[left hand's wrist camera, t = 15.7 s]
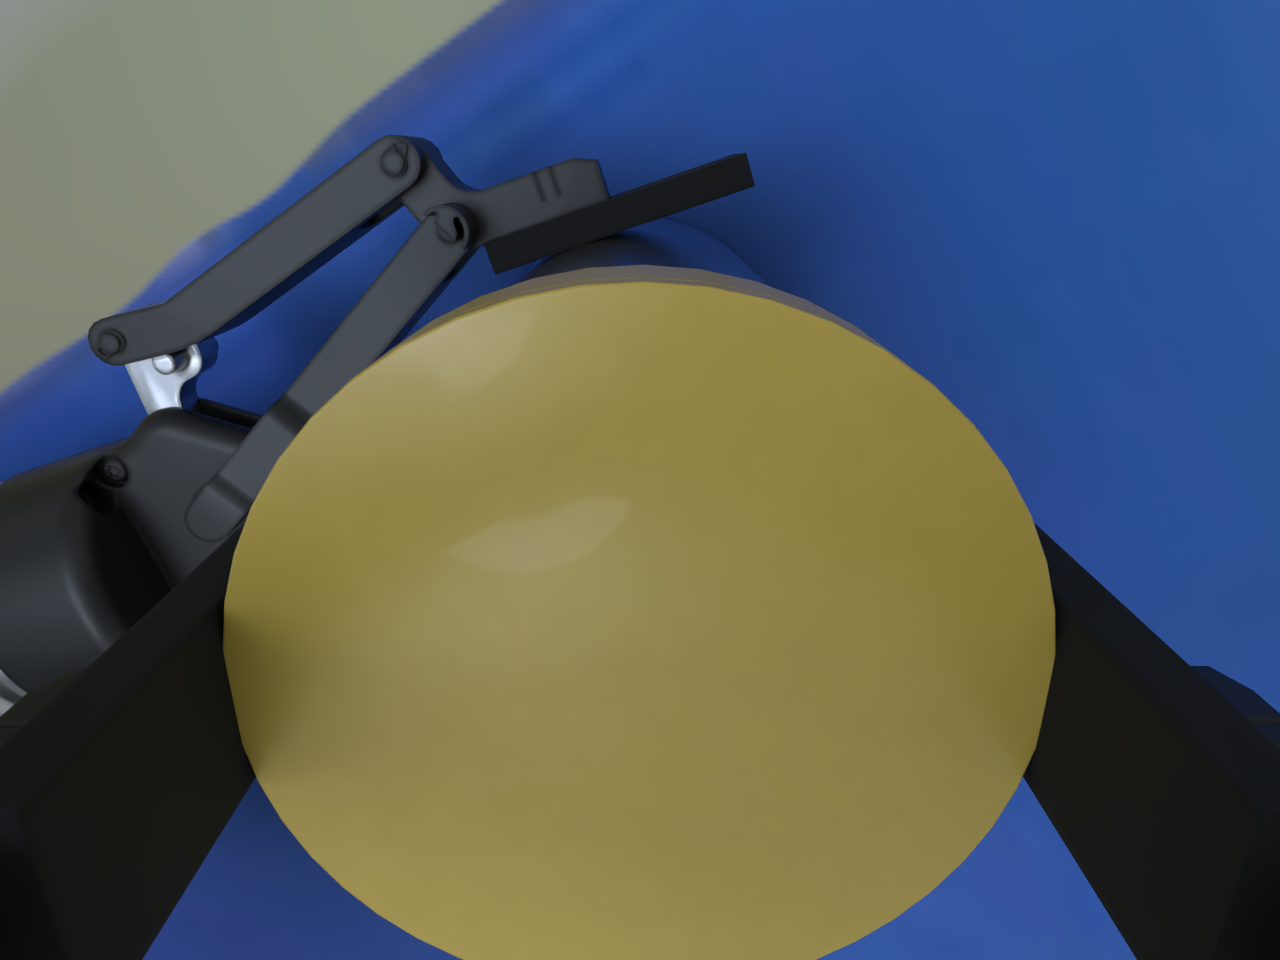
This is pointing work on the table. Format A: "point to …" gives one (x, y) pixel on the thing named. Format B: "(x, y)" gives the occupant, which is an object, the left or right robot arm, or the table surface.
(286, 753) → the lid
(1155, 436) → the table surface
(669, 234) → the jar
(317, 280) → the table surface
